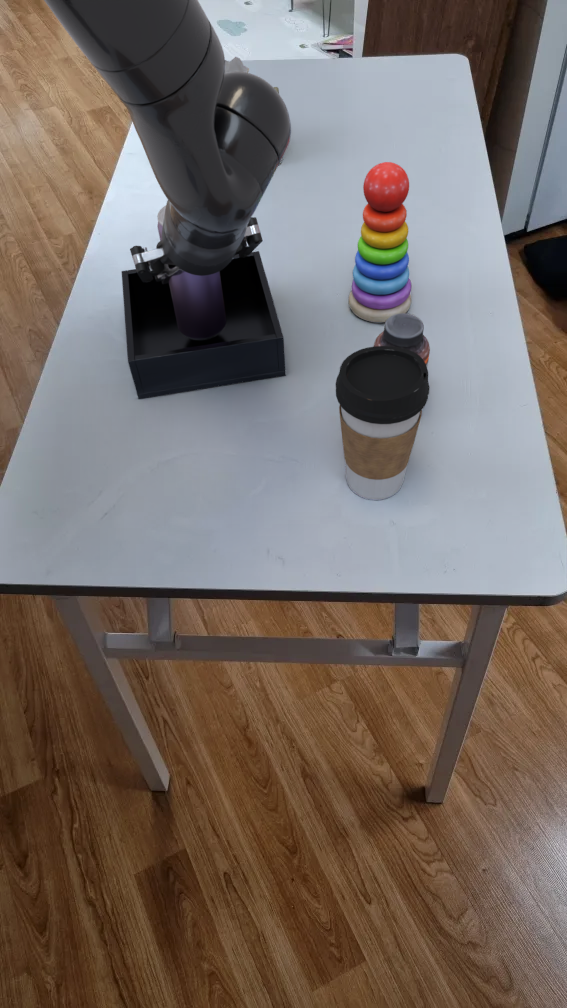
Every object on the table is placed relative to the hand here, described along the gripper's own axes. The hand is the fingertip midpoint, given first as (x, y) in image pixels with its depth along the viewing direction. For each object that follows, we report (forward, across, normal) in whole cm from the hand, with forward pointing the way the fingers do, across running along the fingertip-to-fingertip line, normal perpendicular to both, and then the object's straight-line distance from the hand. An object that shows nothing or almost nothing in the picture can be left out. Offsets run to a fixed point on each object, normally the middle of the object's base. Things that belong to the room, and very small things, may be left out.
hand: (189, 268), depth 84 cm
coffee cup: (-14, -10, +28) cm, 33 cm away
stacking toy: (+4, -23, +10) cm, 25 cm away
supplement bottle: (-8, -17, +22) cm, 29 cm away
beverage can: (+4, 0, +6) cm, 8 cm away
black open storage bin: (+6, 0, +8) cm, 10 cm away
